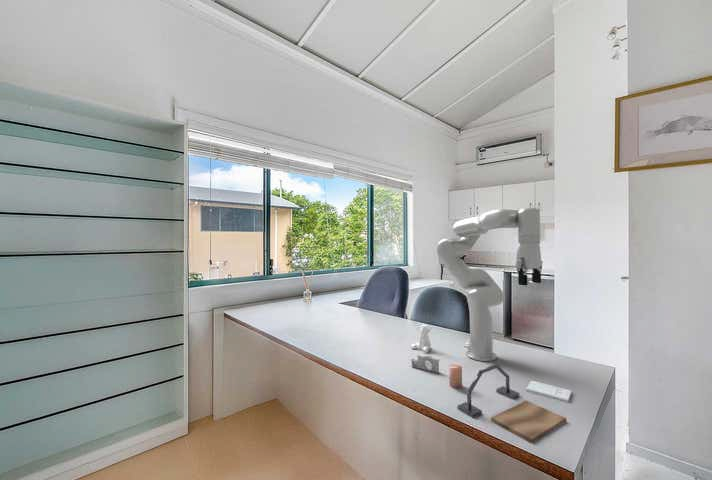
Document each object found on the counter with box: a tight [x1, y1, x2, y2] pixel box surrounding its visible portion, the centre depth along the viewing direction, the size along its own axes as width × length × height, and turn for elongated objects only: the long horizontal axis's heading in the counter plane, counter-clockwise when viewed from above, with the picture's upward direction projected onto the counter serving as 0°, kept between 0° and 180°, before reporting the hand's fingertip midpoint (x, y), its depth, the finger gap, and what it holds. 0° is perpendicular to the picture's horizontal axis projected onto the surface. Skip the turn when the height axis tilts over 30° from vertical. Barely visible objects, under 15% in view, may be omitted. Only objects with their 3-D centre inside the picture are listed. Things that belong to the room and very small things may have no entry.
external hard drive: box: [525, 380, 573, 403], centre depth 110 cm, size 2×8×12 cm
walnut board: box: [490, 400, 567, 444], centre depth 93 cm, size 12×18×1 cm, turn 121°
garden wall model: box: [410, 354, 440, 373], centre depth 131 cm, size 12×2×6 cm, turn 56°
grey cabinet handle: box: [457, 363, 520, 418], centre depth 104 cm, size 6×24×12 cm, turn 121°
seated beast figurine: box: [410, 324, 432, 354], centre depth 154 cm, size 10×9×12 cm
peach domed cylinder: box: [449, 363, 463, 389], centre depth 116 cm, size 4×4×7 cm
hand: (529, 283), depth 122 cm, fingers open, 9 cm apart
